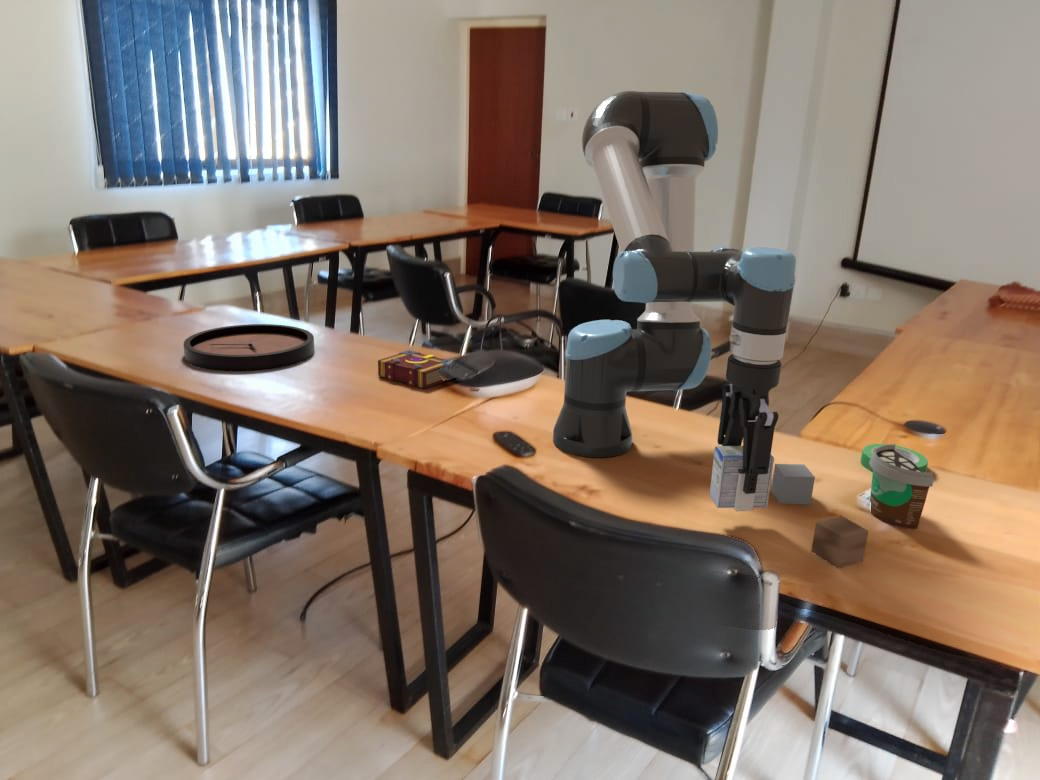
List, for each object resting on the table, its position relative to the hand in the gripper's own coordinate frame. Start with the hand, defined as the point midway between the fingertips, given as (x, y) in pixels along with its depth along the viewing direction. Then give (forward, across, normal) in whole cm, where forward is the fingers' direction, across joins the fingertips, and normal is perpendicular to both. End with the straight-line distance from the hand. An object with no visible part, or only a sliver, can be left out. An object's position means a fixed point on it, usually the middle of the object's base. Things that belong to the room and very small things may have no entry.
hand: (735, 500), depth 124 cm
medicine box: (0, 0, 0) cm, 1 cm away
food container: (+4, 0, +26) cm, 26 cm away
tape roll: (+5, -17, +40) cm, 43 cm away
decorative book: (+6, -79, -44) cm, 91 cm away
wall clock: (+6, -102, -84) cm, 133 cm away
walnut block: (+4, +11, +11) cm, 16 cm away
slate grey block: (+4, -8, +14) cm, 16 cm away
